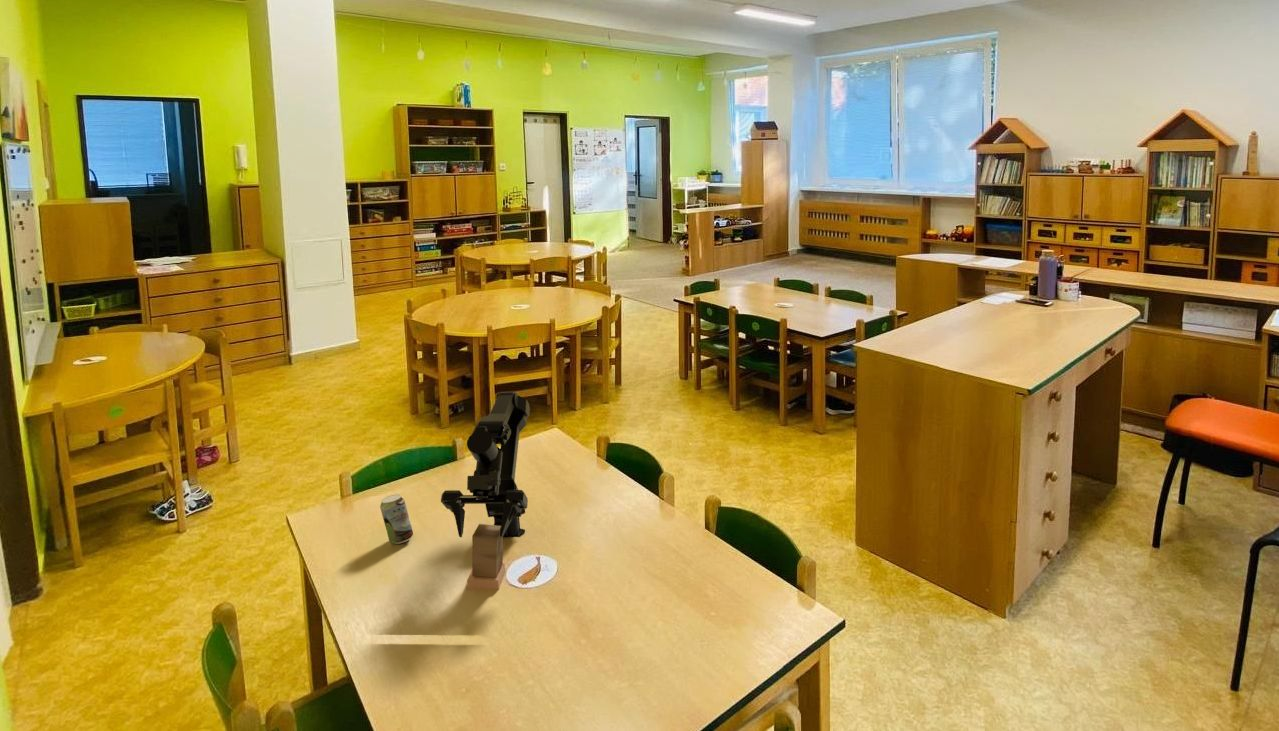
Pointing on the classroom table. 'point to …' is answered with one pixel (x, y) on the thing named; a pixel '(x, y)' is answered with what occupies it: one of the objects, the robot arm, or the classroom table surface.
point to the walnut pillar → (487, 551)
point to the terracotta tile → (486, 581)
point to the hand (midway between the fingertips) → (480, 536)
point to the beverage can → (396, 519)
